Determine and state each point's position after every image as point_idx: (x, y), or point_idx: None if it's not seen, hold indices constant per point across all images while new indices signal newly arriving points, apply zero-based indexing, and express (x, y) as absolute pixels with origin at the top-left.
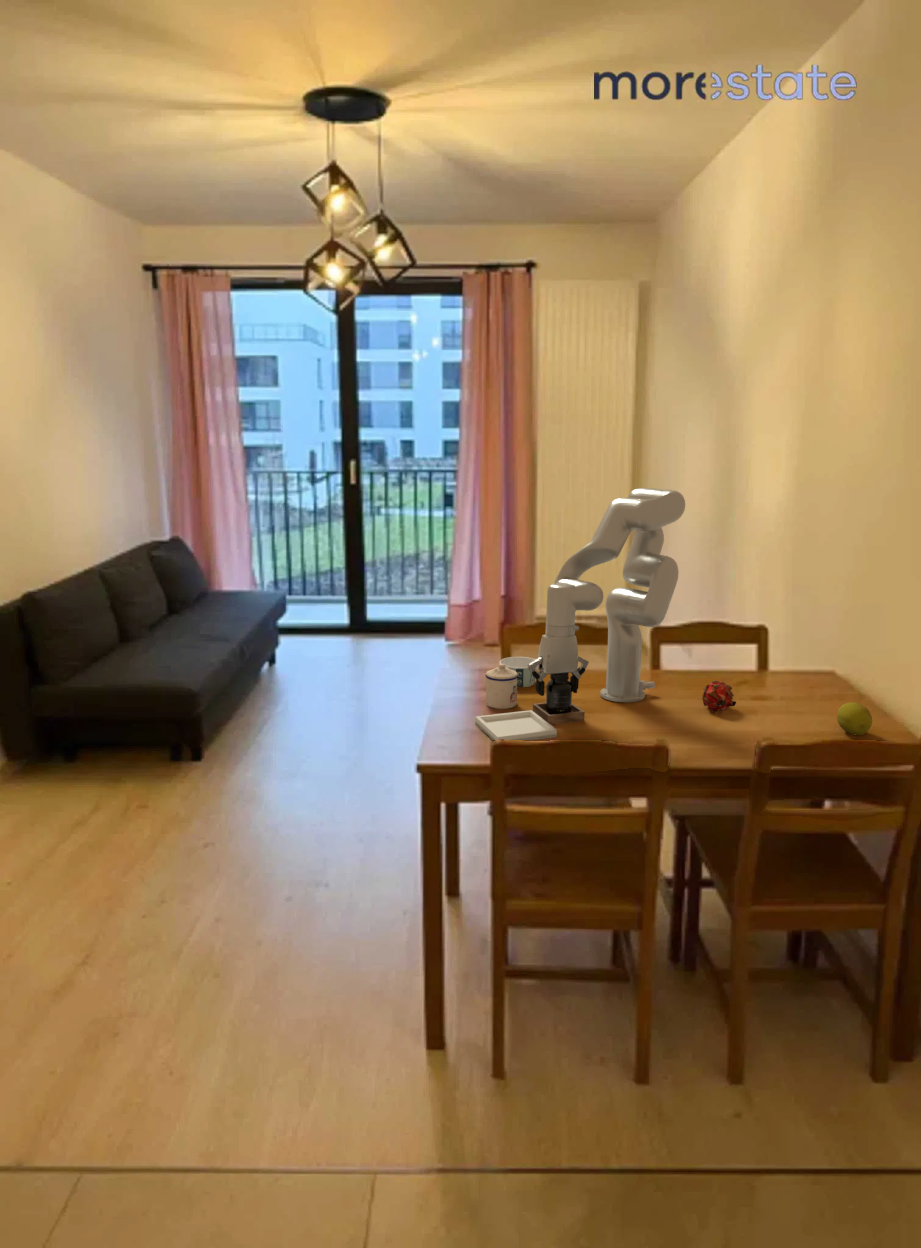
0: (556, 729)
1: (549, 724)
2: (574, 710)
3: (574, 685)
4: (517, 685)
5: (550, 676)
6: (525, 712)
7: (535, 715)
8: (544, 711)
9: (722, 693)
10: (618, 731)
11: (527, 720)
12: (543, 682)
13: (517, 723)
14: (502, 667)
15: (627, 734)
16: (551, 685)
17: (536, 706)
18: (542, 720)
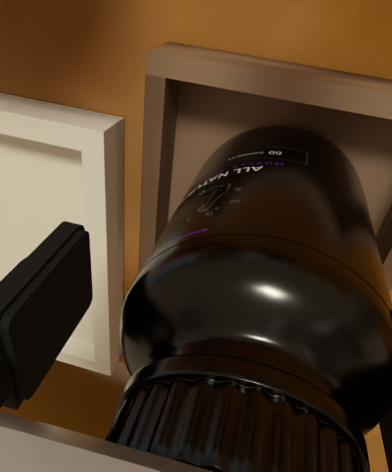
0: (110, 375)
1: (106, 333)
2: (379, 246)
3: (384, 432)
4: None
5: (125, 400)
6: (56, 144)
7: (90, 222)
8: (149, 227)
9: None
10: (369, 434)
11: (60, 195)
12: (14, 401)
13: (3, 203)
14: None
15: (371, 459)
16: (130, 375)
17: (145, 121)
18: (96, 289)
